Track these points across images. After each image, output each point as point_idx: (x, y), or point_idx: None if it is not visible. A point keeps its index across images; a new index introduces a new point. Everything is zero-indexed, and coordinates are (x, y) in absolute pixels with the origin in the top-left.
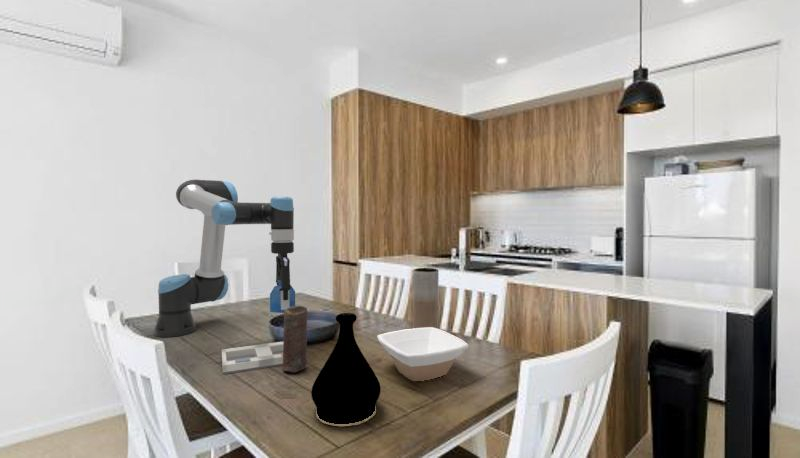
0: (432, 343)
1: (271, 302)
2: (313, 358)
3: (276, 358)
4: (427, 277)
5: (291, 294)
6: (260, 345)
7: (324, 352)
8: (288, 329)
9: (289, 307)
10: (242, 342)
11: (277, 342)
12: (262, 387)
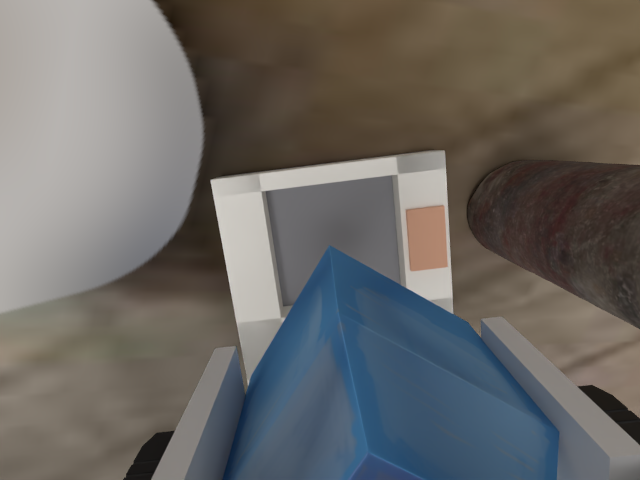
0: None
1: None
2: (402, 115)
3: (451, 287)
4: None
5: (432, 355)
6: (257, 354)
7: (336, 49)
8: None
9: (509, 323)
10: (93, 412)
11: (231, 281)
12: (622, 322)
